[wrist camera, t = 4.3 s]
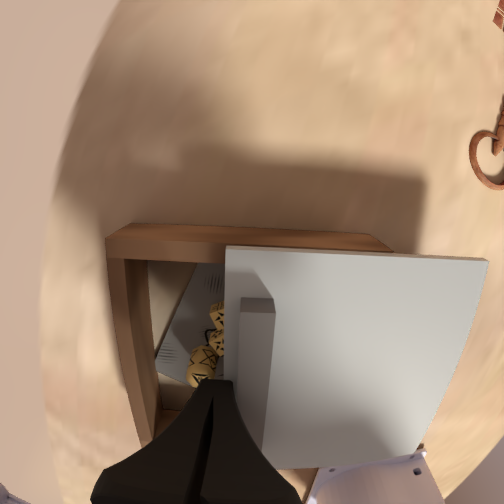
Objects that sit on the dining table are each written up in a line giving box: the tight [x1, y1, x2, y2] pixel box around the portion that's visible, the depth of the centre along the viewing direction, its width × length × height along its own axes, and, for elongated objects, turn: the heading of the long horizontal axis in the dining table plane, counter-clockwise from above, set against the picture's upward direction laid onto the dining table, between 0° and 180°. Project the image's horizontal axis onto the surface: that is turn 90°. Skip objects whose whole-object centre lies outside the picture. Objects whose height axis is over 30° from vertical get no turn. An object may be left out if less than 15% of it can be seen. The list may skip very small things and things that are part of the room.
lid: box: [224, 245, 489, 469], centre depth 13 cm, size 12×13×2 cm
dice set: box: [185, 301, 224, 388], centre depth 16 cm, size 5×5×2 cm
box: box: [105, 223, 394, 448], centre depth 15 cm, size 12×13×3 cm
